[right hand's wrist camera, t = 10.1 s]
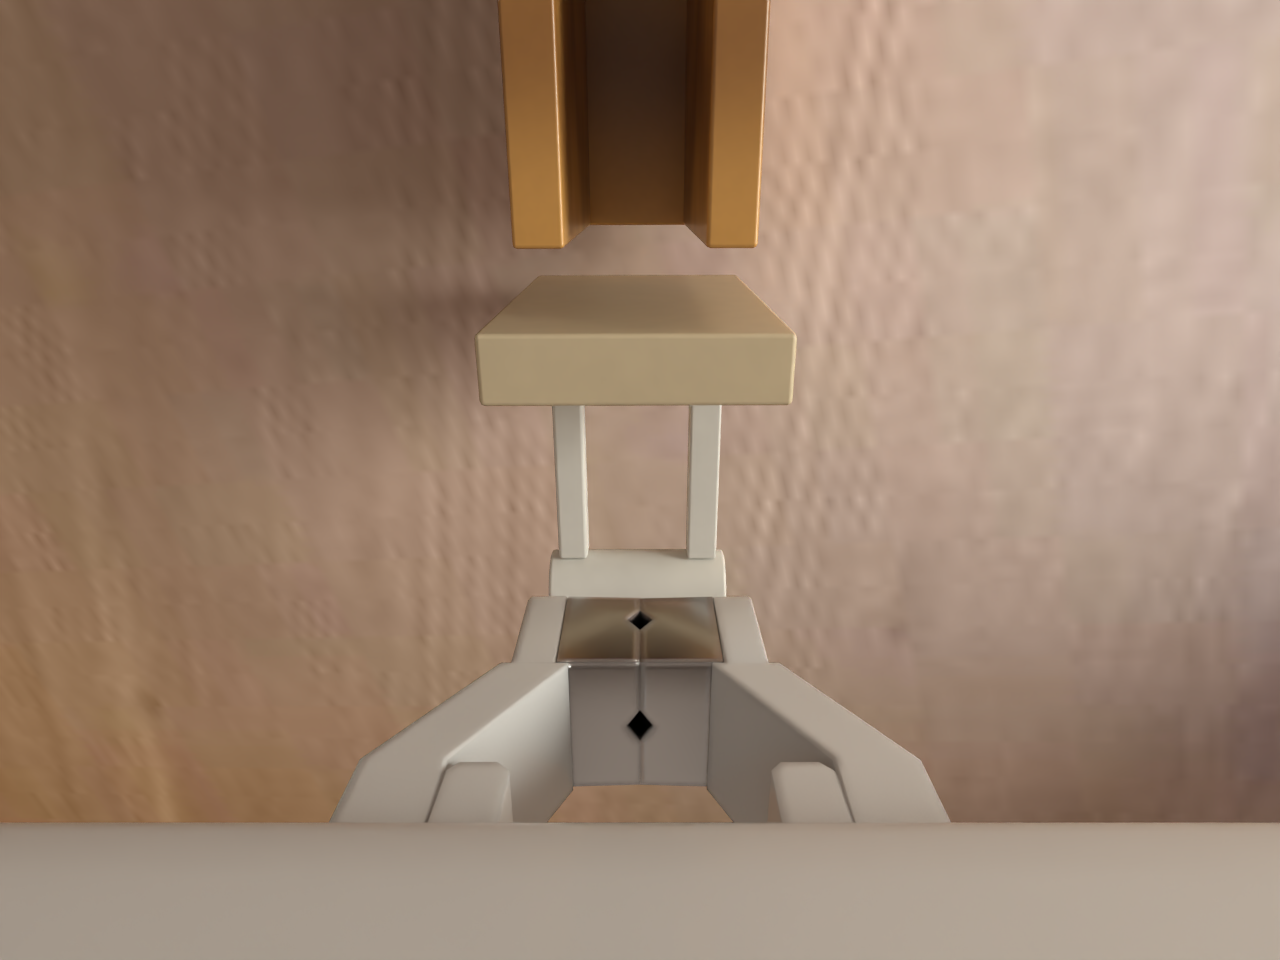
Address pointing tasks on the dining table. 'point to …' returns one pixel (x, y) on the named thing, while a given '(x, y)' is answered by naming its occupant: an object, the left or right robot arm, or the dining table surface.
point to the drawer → (635, 304)
